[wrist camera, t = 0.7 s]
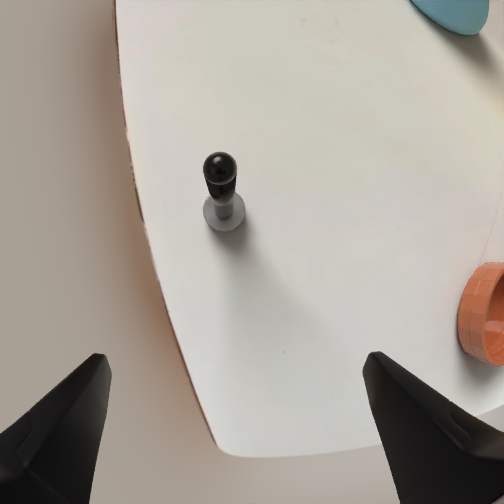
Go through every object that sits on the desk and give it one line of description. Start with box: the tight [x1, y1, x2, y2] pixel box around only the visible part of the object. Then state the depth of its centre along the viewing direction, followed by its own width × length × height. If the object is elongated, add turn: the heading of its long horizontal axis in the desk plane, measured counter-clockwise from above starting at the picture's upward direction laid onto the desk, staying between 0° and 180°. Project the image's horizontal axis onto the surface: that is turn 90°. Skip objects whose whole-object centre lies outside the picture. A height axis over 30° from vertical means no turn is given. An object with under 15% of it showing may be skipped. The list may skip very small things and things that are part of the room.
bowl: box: [458, 262, 504, 366], centre depth 24 cm, size 11×11×4 cm
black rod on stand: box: [203, 152, 245, 232], centre depth 18 cm, size 3×3×13 cm
